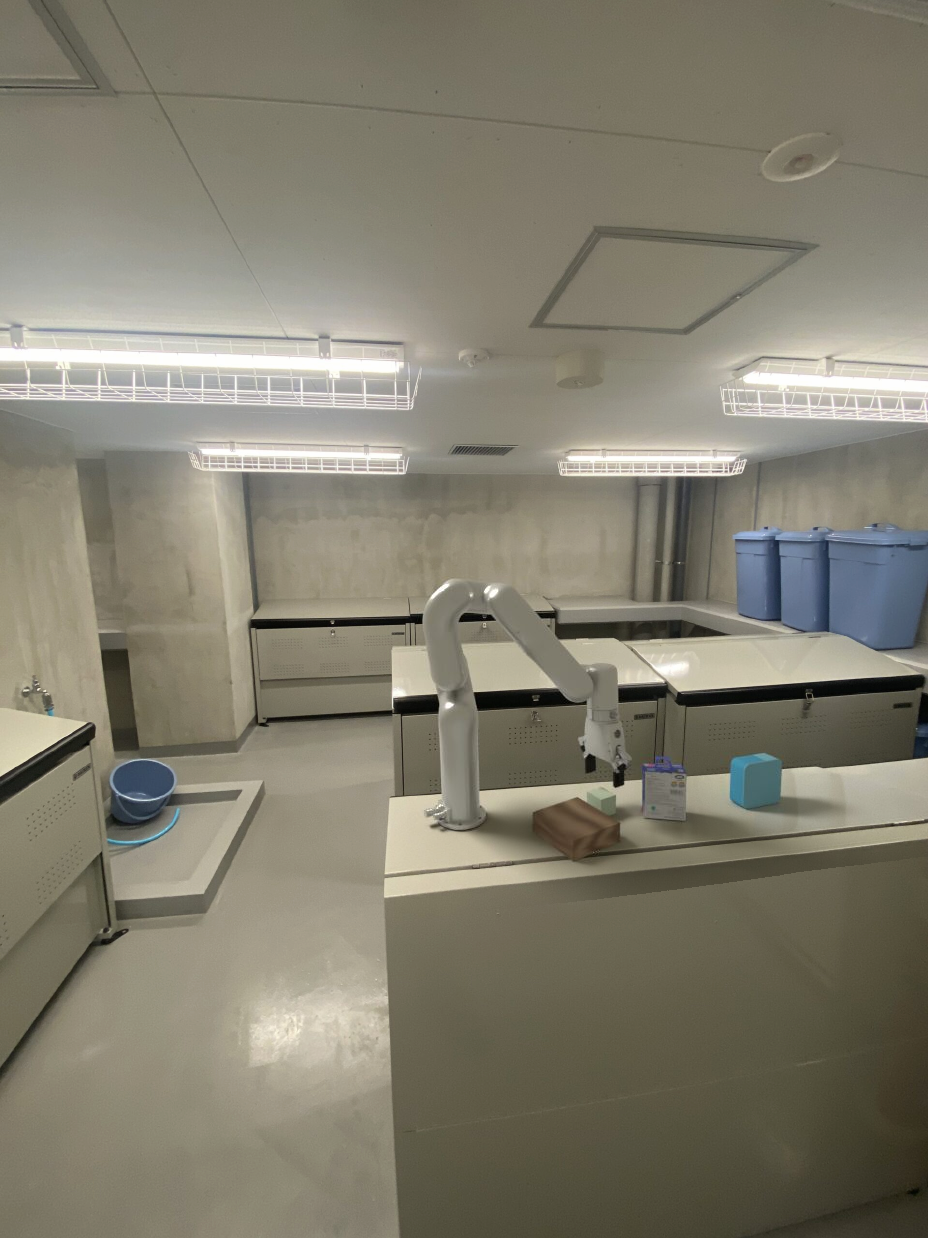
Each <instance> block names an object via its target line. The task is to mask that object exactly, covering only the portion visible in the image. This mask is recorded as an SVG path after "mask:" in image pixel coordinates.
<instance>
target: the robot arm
mask: <svg viewBox="0 0 928 1238" xmlns="http://www.w3.org/2000/svg"><path fill="white" fill-rule="evenodd" d="M465 613H471V614H472V613H473V614H481V615H491V616H492V618H493V619H494V620H495V621H496V622H497V623H498V624H499V625H500V626H501V627H502V629H503V630H504V631H505V632H506V633H507V634H508V636H509V637H510V638H511V639H512V640H513V641H514V643H515V644H516V645H517V646H518V647H519V648H520V649H521V651H522V652H523V653H524V654H525V655H526V656H527V657H528V658H529V659H530V660H531V661H532V662H534V663H535V664H536V665H537V666H538V667H539V669H541V671H542V672H543V673H544V674H545V675H546V676H547V677H548V678H549V679H550V681H551V682H552V683H553V684H554V686H555V687H556V689H557V690H558V691H559V692H560V693H561V694H562V695H563V696H564V697H565V699H567V700H568V701H570V702H573V703H583V702H585V701H586V714H587V715H586V718H585V723H584V735H582V736H579V737H578V738H577V740H578V743H579V745H580V749H581V750H580V751H582V757H583V758H584V773H586V774H590V773H593V772H596V770H597V760H596V759H597V758H598V759H600V760H603V761H605V762H607V763H609V764H610V765H611V767H612V768H613V770H614V771H613V772H612V787H613V788H615V789H618V788H620V787H623V786H625V771H627V769H628V768H629V767H630V765H631V763H632V761H633V758H632V756H631V755H630V754H629V753H628V752H627V751H626V740H625V733H624V728H623V724H622V721H621V720H620V718H621V714H619V679H618V677H619V676H618V675H619V674H618V673H619V672H618V668H617V667H616V666H615V665H614V664H613V663H612V664H611V663H607V662H606V663H605V662H598V663H597V662H596V663H591V664H583V663H581V664H580V663H579V662H578V660H577V659H576V658H575V657H574V656H573V655H572V654H571V652H570V651H569V650H568V649H567V648H566V647H565V646H564V644H563V643H562V642H561V641H560V639H559V638H558V637H557V635H556V634H555V633H554V632H553V631H552V630H551V629H550V627H549V626H548V625H547V624H546V622H545V621H544V620H543V619H542V618H541V617H540V615H539V614H538V613H537V612H536V611H535V610H534V609H533V607H532V606H531V605H530V604H529V602H528V601H527V600H526V599H525V597H523V596H522V595H521V593H520V592H519V591H518V590H517V589H516V588H514V586H512V585H510V584H507V583H503V582H491V581H490V582H489V581H482V580H481V581H480V580H475V579H474V580H472V579H465V578H450V579H448V580H447V581H445V582H444V583H443V584H442V585H441V586H440V587H439V588H438V589H437V590H435V592H434V593H433V594H432V595H430V597H429V598H428V600H427V602H426V603H425V607H424V610H423V613H422V614H423V615H422V630H423V635H424V639H425V640H424V642H425V647H426V652H427V653H426V654H427V659H428V662H429V666H430V667H429V670H430V676H431V679H432V681H433V684H435V688H436V689H435V690H436V693H437V694H436V695H437V698H438V703H439V707H438V717H437V718H438V734H439V735H438V736H439V758H440V781H441V782H440V783H441V799H438V800H437V804H436V805H435V806H433V807H429V808H426V809H424V810H423V816H424V817H425V819H428V818H430V817H432V819H433V821H437V823H438V824H439V825H440V826H442V827H443V828H446V829H450V830H456V831H465V830H470V829H471V830H472V829H474V828H476V827H479V826H480V825H482V824H483V823H484V822H485V821H486V818H487V812H486V809H485V807H484V806H483V805H481V804H480V803H481V801H480V771H479V769H480V767H479V766H480V765H479V760H480V759H479V713H478V708H477V703H476V702H477V701H476V698H475V693H474V689H473V688H474V687H473V684H472V679H471V678H472V677H471V675H470V669H469V664H468V659H467V657H466V655H465V654H464V651H463V646H462V640H461V633H460V629H459V622H460V618H461V616H462V615H464V614H465ZM617 763H618V764H617Z"/></svg>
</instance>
